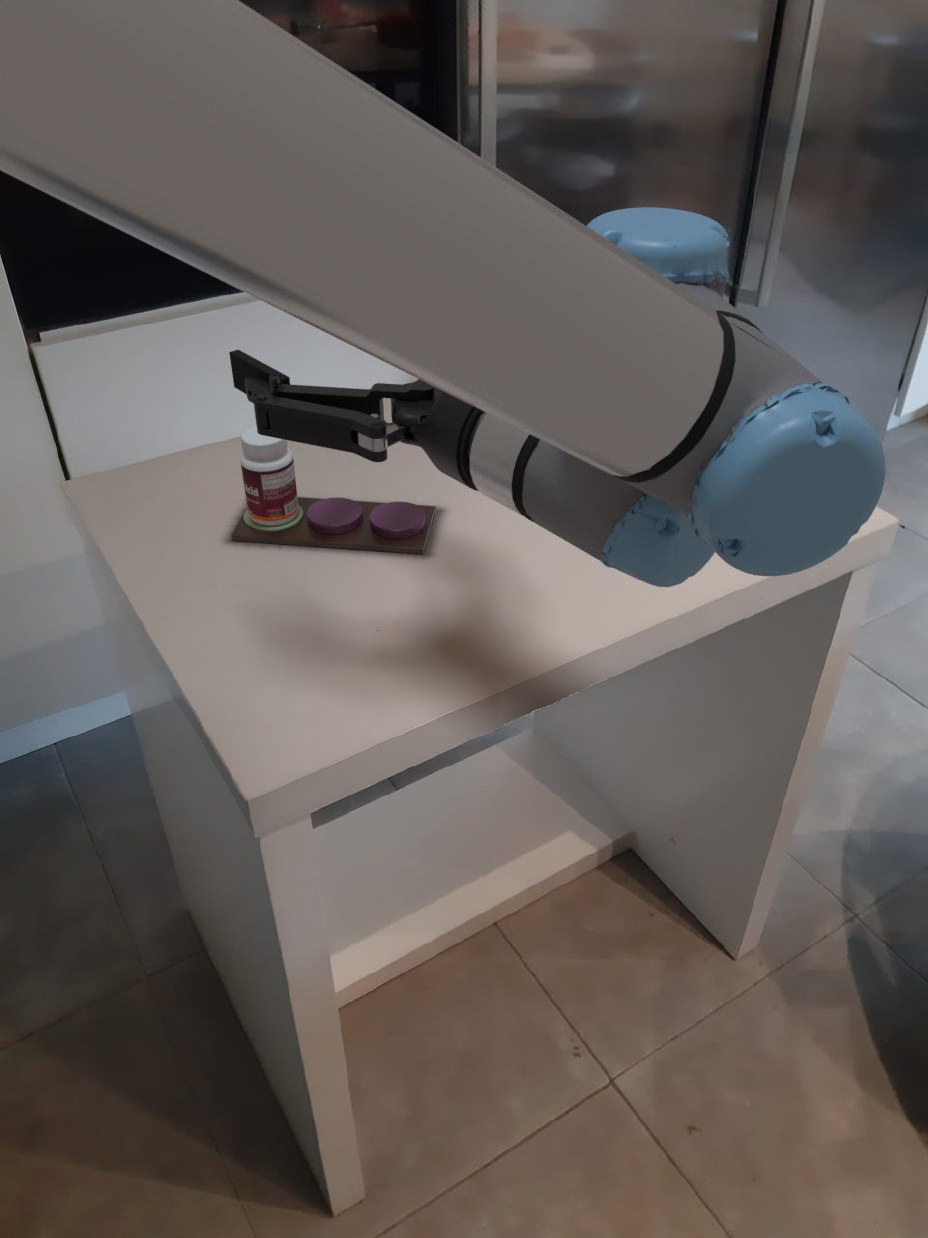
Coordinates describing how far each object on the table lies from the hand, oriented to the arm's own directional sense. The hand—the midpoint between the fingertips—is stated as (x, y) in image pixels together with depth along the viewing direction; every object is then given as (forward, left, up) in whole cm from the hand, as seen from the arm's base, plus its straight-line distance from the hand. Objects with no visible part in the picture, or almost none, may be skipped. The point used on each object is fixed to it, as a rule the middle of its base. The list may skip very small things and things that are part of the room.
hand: (312, 344), depth 75 cm
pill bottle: (-4, +9, -20) cm, 22 cm away
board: (+2, +6, -21) cm, 22 cm away
